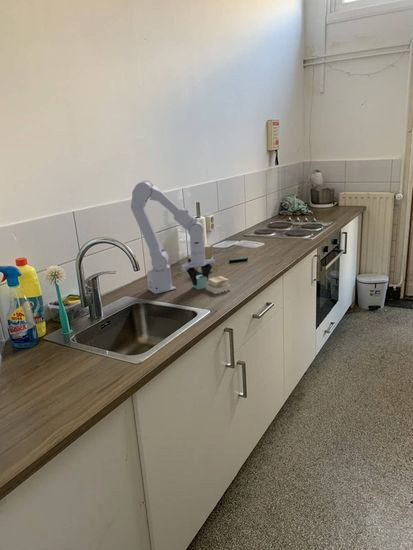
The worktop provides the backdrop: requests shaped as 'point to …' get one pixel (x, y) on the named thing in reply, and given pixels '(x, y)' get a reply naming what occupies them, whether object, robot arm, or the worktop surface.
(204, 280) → the teal cube
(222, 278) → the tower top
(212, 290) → the tower base
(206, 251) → the skincare box
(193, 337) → the worktop surface
